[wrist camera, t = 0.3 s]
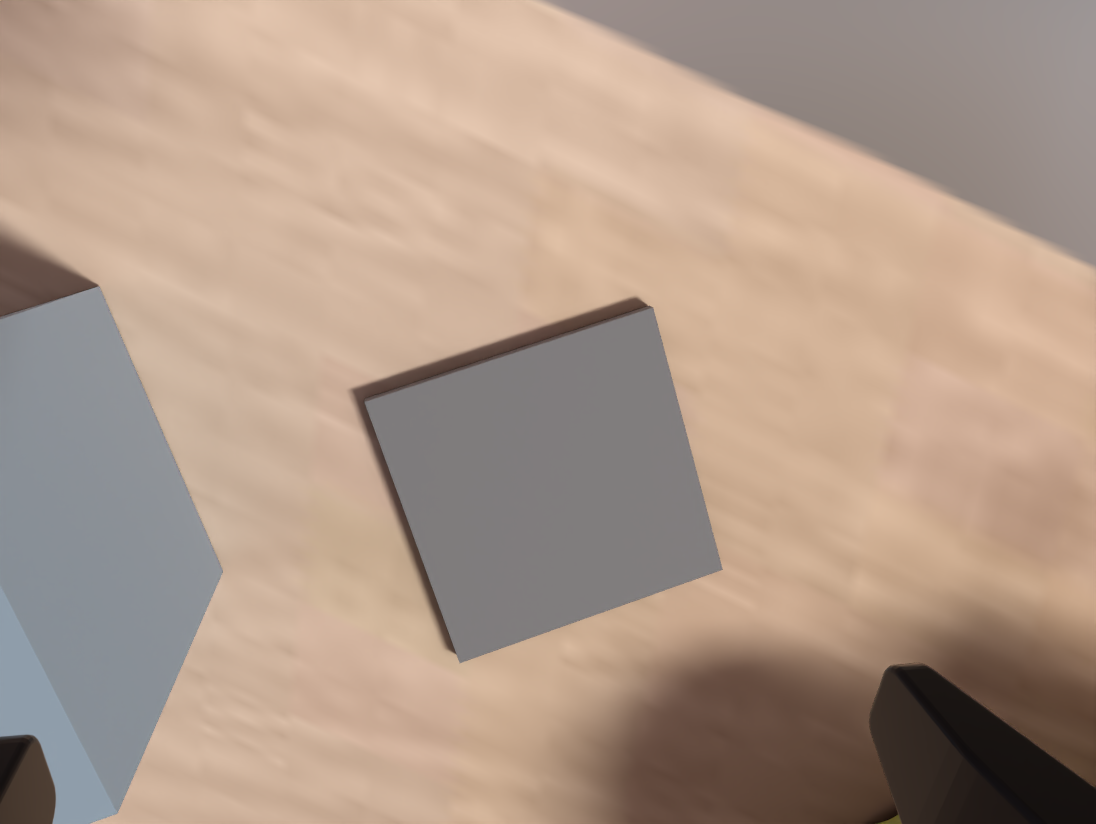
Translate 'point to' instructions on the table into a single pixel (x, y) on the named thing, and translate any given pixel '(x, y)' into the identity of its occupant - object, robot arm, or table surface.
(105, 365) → the grey rectangular block
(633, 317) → the pad
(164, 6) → the table surface
